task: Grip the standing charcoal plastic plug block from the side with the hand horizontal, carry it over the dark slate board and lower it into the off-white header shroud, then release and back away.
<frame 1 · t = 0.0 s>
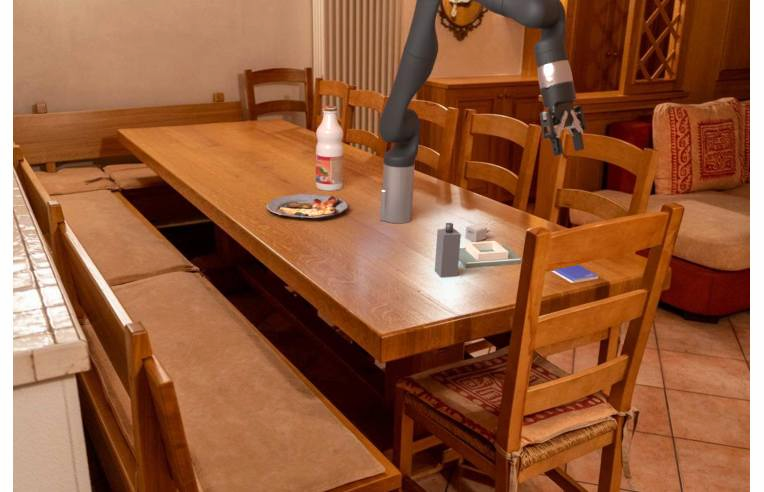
hand: (569, 152, 160), 31 cm above the table, tool tilted 20°, fingers open, 8 cm apart
board: (486, 257, 182), on the table
blue book: (568, 274, 175), on the table
usb wall charger: (478, 239, 196), on the table
food plate: (308, 211, 216), on the table
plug: (445, 273, 171), on the table
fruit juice: (329, 188, 240), on the table
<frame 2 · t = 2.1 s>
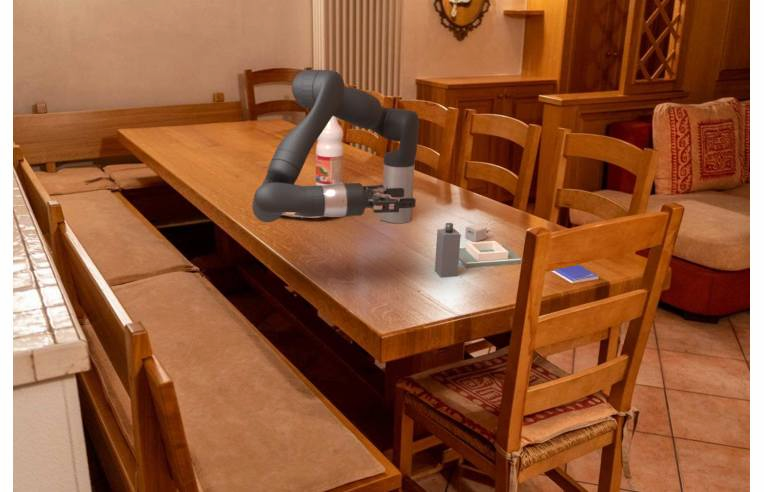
hand: (409, 197, 161), 20 cm above the table, tool horizontal, fingers open, 8 cm apart
nothing on the table moved.
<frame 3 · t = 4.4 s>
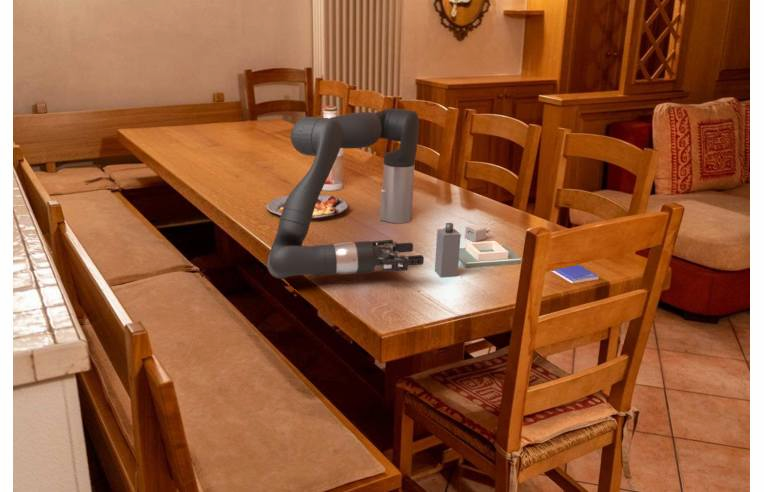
hand: (417, 253, 167), 6 cm above the table, tool horizontal, fingers open, 8 cm apart
nothing on the table moved.
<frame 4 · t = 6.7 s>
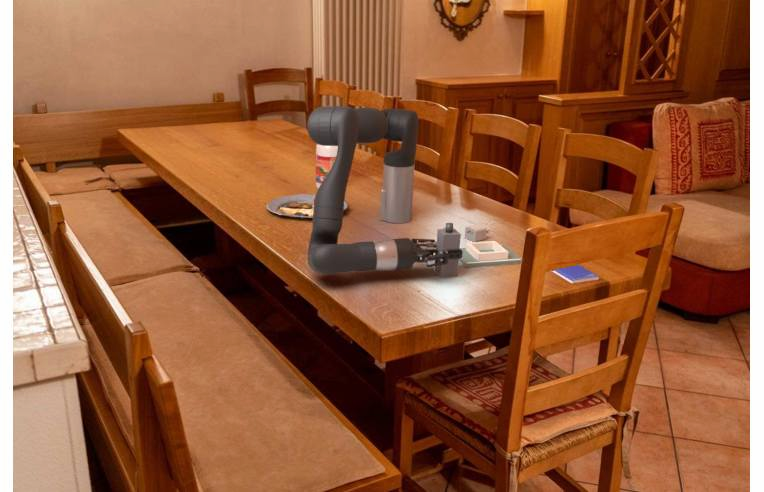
hand: (457, 250, 170), 6 cm above the table, tool horizontal, fingers closed on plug, 4 cm apart
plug: (445, 273, 171), on the table, touching gripper
everything else where it was.
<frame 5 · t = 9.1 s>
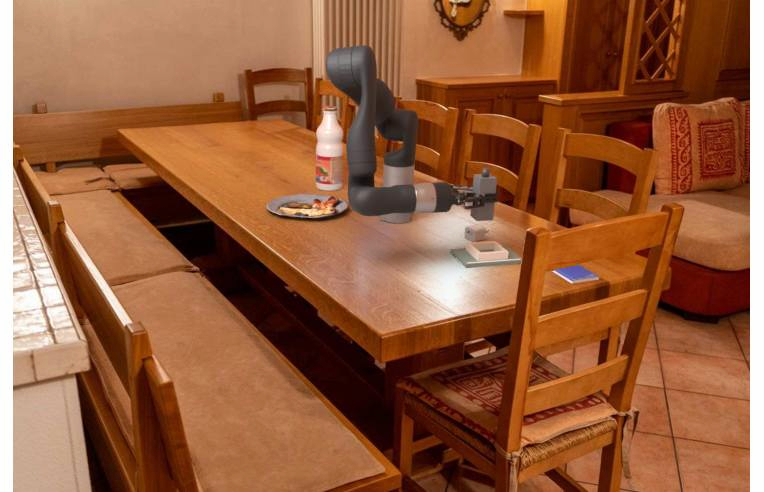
hand: (493, 194, 174), 18 cm above the table, tool horizontal, fingers closed on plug, 4 cm apart
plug: (481, 218, 176), point 12 cm above the table, touching gripper
everything else where it was.
when the fingers open (8 cm above the table, at t = 11.7 s): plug stays where it is, resting on board.
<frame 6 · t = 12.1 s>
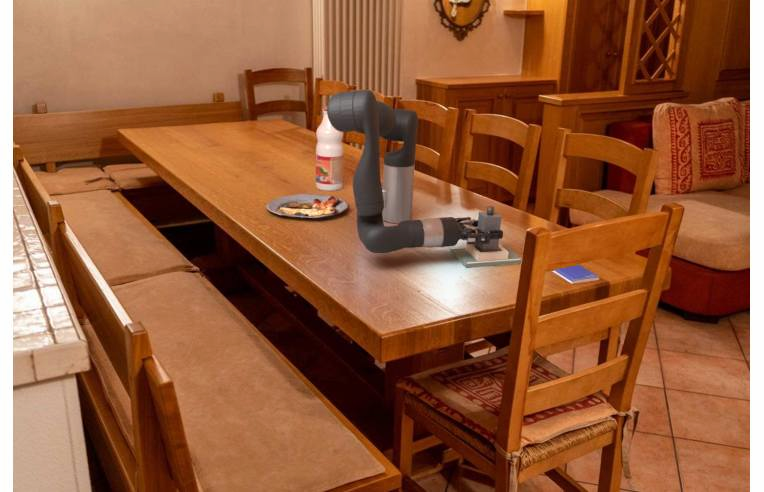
hand: (495, 228, 180), 8 cm above the table, tool horizontal, fingers open, 8 cm apart
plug: (486, 254, 182), point 1 cm above the table, touching board
everything else where it was.
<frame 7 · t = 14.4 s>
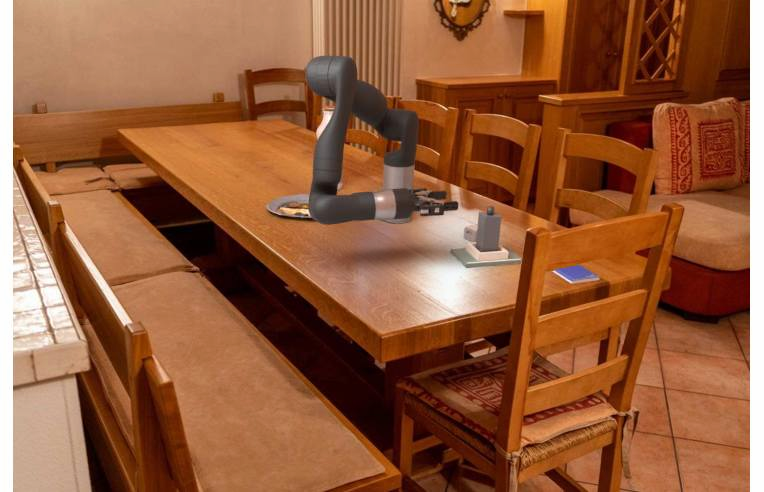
hand: (451, 200, 174), 16 cm above the table, tool horizontal, fingers open, 8 cm apart
nothing on the table moved.
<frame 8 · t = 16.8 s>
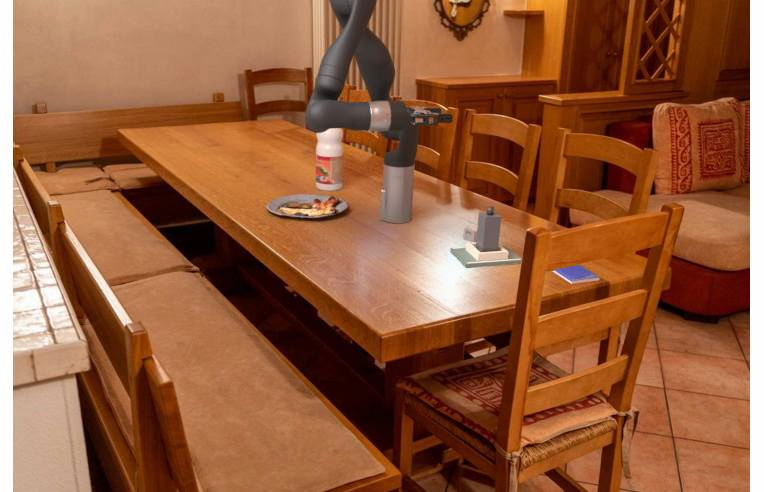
hand: (446, 115, 176), 36 cm above the table, tool horizontal, fingers open, 8 cm apart
nothing on the table moved.
at the end: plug 0.0 cm off-centre on the board, point 1.1 cm above the board's base; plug tilted 0°; the gripper is holding nothing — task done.
